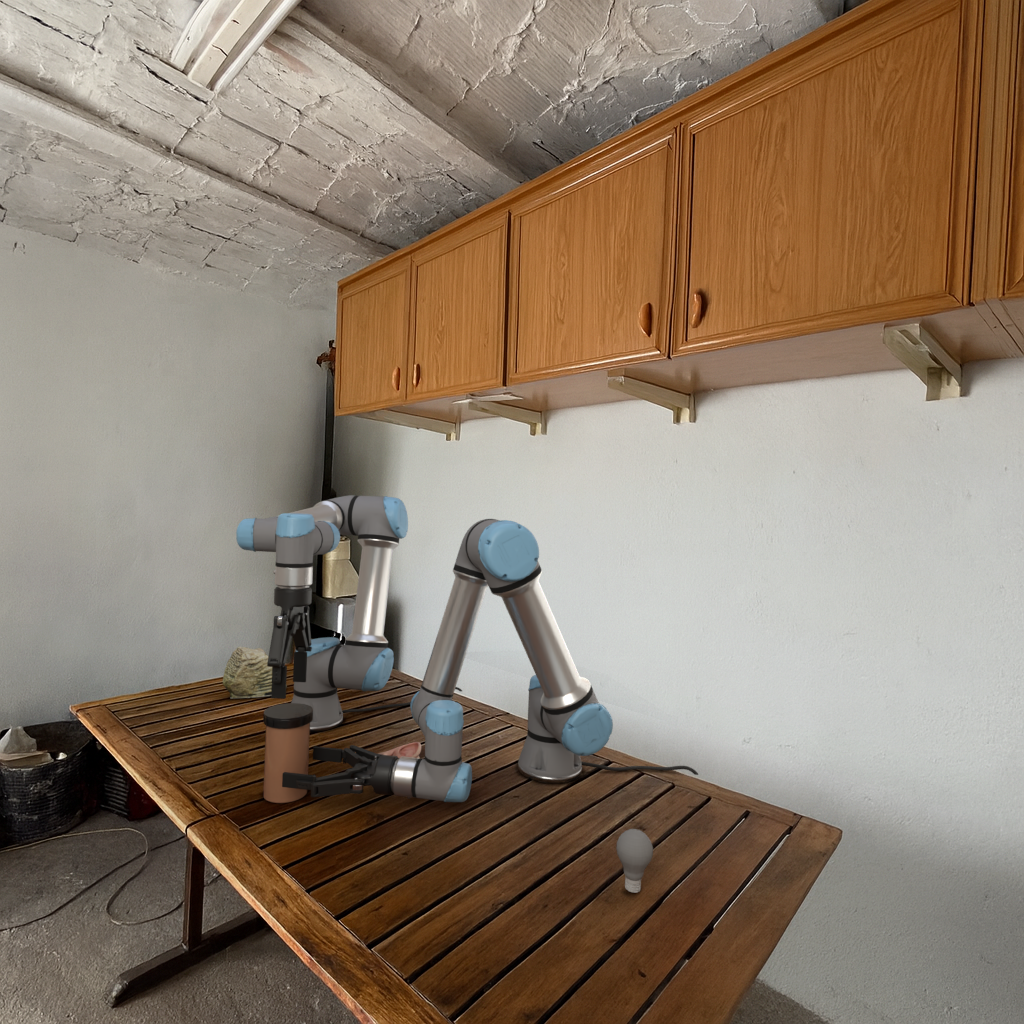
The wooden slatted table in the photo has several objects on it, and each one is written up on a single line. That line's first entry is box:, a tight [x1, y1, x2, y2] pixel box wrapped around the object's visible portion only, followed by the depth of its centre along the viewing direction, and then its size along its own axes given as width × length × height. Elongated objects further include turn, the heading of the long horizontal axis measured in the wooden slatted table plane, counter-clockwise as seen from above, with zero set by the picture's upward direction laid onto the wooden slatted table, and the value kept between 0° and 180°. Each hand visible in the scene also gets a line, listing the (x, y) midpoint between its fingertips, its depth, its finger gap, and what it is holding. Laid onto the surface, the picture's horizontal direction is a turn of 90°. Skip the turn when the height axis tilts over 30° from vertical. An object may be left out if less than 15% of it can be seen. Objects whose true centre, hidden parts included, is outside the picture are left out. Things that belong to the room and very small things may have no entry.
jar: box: [262, 723, 311, 804], centre depth 135 cm, size 9×9×17 cm
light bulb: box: [615, 828, 654, 894], centre depth 106 cm, size 6×6×10 cm
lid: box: [262, 702, 313, 729], centre depth 134 cm, size 10×10×2 cm
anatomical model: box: [377, 741, 422, 759], centre depth 152 cm, size 13×4×12 cm
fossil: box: [222, 646, 288, 699], centre depth 198 cm, size 9×18×15 cm, turn 132°
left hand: (289, 689), depth 134 cm, fingers open, 11 cm apart
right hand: (298, 765), depth 133 cm, fingers open, 13 cm apart
